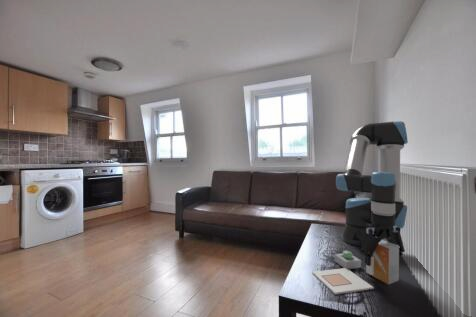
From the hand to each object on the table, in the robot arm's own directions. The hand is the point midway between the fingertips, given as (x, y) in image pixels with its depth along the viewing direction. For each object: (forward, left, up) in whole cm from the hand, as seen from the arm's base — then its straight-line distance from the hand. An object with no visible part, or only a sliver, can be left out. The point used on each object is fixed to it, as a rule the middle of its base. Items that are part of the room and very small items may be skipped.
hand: (382, 272), depth 79 cm
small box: (0, 0, -2) cm, 2 cm away
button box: (+6, -11, -2) cm, 13 cm away
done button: (+6, -11, +1) cm, 13 cm away
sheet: (+17, -1, -2) cm, 17 cm away
